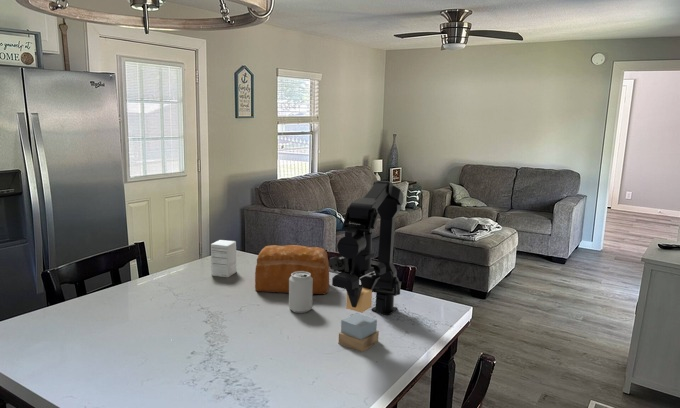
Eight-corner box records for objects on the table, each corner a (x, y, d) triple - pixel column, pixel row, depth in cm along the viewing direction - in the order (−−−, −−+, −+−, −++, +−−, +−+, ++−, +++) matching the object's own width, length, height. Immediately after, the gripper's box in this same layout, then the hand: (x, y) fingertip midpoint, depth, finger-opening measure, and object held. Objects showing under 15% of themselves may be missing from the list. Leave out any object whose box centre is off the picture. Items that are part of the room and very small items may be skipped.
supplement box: (220, 270, 199) (219, 239, 196) (237, 272, 197) (236, 241, 195) (210, 275, 192) (210, 243, 189) (228, 277, 190) (227, 245, 187)
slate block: (356, 324, 143) (357, 312, 142) (376, 331, 138) (376, 319, 138) (340, 331, 138) (341, 320, 137) (361, 339, 133) (361, 327, 133)
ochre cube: (356, 302, 140) (356, 286, 139) (371, 307, 137) (372, 289, 136) (346, 308, 136) (346, 290, 135) (361, 312, 133) (362, 295, 132)
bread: (261, 280, 188) (261, 240, 185) (330, 283, 187) (331, 242, 184) (252, 293, 175) (252, 249, 172) (327, 296, 173) (328, 252, 170)
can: (308, 315, 156) (309, 278, 154) (285, 312, 158) (286, 276, 156) (314, 306, 164) (315, 271, 162) (292, 304, 165) (293, 269, 163)
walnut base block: (354, 335, 144) (354, 323, 143) (378, 342, 139) (378, 331, 139) (338, 345, 137) (338, 333, 137) (363, 353, 133) (363, 341, 132)
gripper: (354, 237, 146) (352, 288, 148) (316, 251, 130) (315, 307, 133) (387, 244, 140) (385, 297, 142) (351, 258, 124) (350, 317, 127)
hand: (359, 304), depth 136 cm, fingers closed on ochre cube, 5 cm apart
